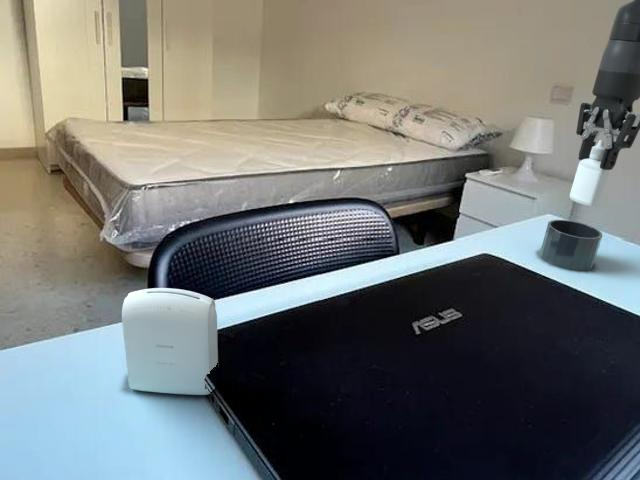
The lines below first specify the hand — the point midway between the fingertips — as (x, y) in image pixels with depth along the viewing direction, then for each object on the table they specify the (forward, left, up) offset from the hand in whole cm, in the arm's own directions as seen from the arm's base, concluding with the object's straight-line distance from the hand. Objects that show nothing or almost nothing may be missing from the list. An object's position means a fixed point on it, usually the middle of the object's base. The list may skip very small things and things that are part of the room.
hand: (594, 164), depth 93 cm
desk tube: (0, 0, -20) cm, 20 cm away
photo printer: (+73, +33, -20) cm, 83 cm away
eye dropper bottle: (0, 0, -8) cm, 8 cm away
